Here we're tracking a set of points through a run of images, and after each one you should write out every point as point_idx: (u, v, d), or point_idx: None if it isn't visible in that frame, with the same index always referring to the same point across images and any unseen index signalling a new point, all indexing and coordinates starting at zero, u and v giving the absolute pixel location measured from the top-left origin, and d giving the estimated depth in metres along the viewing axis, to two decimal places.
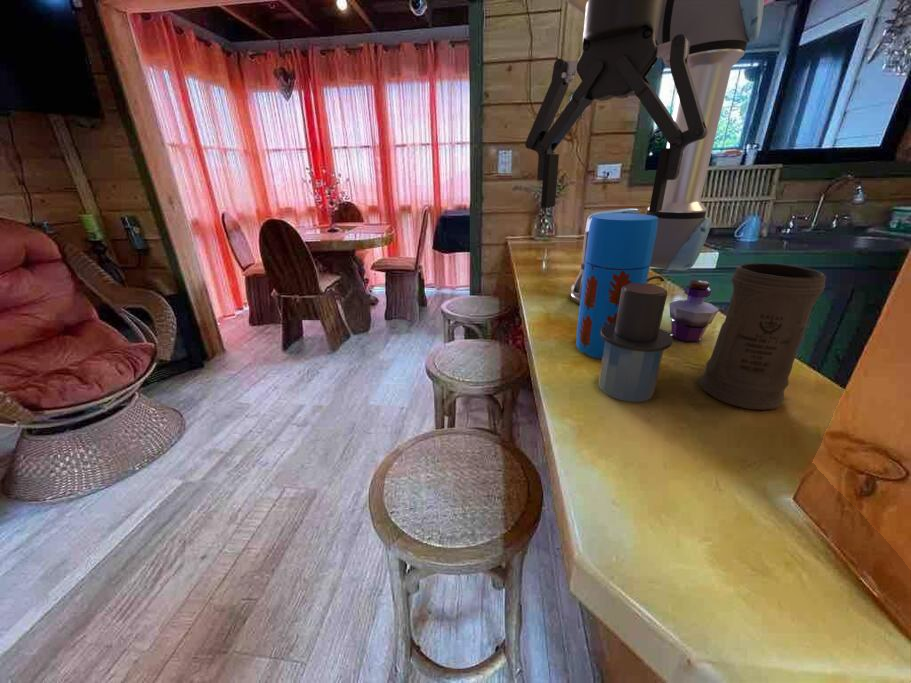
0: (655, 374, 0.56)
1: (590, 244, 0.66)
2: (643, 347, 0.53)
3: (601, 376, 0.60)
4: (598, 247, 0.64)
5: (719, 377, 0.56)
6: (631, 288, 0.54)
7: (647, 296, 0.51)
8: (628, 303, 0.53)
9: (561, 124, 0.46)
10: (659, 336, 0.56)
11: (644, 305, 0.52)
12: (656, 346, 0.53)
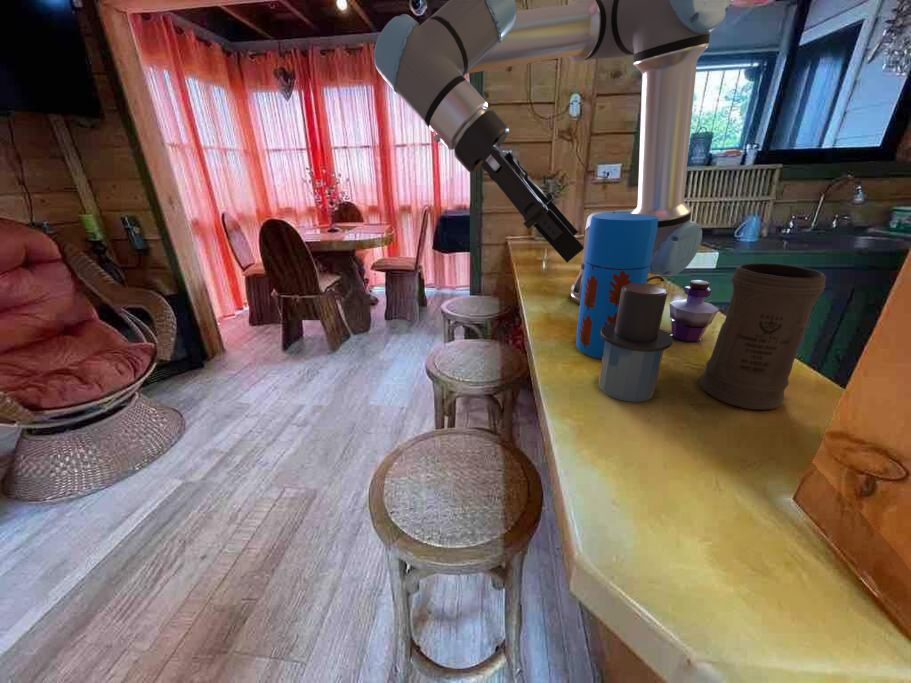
0: (655, 374, 0.56)
1: (590, 244, 0.66)
2: (643, 347, 0.53)
3: (601, 376, 0.60)
4: (598, 247, 0.64)
5: (719, 377, 0.56)
6: (631, 288, 0.54)
7: (647, 296, 0.51)
8: (628, 303, 0.53)
9: None
10: (659, 336, 0.56)
11: (644, 305, 0.52)
12: (656, 346, 0.53)
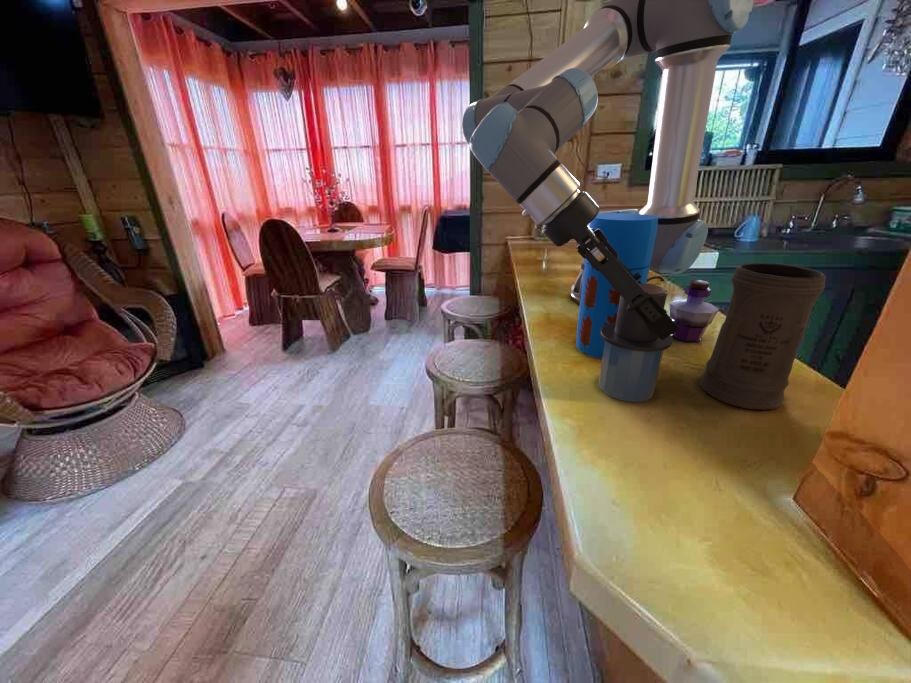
0: (655, 374, 0.56)
1: None
2: (643, 347, 0.53)
3: (601, 376, 0.60)
4: None
5: (719, 377, 0.56)
6: None
7: None
8: None
9: None
10: None
11: None
12: (656, 346, 0.53)
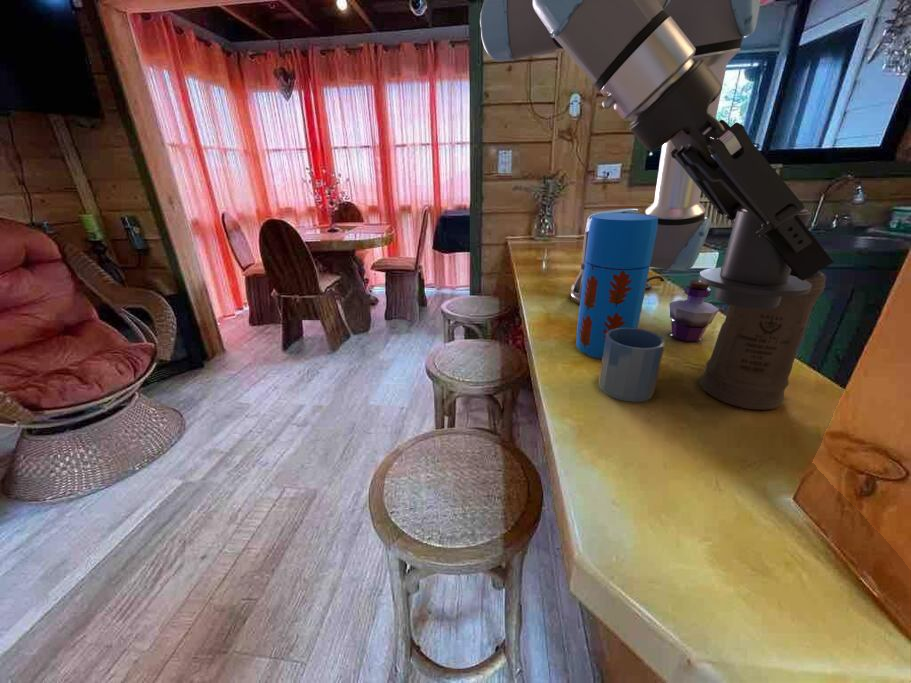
0: (655, 374, 0.56)
1: (590, 244, 0.66)
2: (776, 290, 0.37)
3: (601, 376, 0.60)
4: (598, 247, 0.64)
5: (719, 377, 0.56)
6: None
7: None
8: (752, 229, 0.38)
9: (715, 196, 0.42)
10: (788, 279, 0.40)
11: None
12: (794, 289, 0.37)
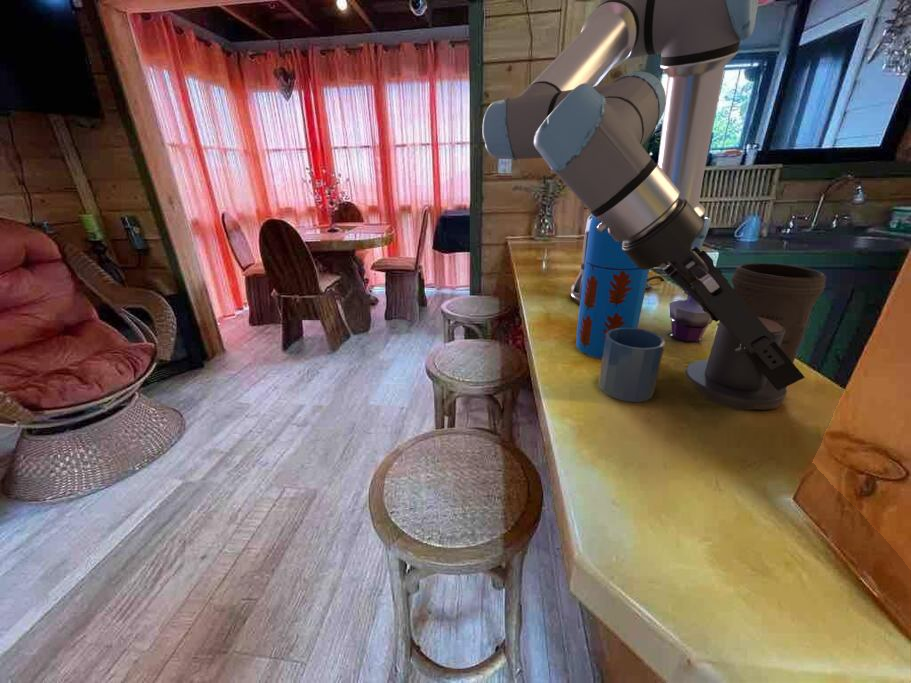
0: (655, 374, 0.56)
1: (590, 244, 0.66)
2: (754, 399, 0.41)
3: (601, 376, 0.60)
4: (598, 247, 0.64)
5: None
6: None
7: None
8: (732, 342, 0.42)
9: (700, 302, 0.46)
10: (766, 382, 0.44)
11: None
12: (770, 398, 0.41)
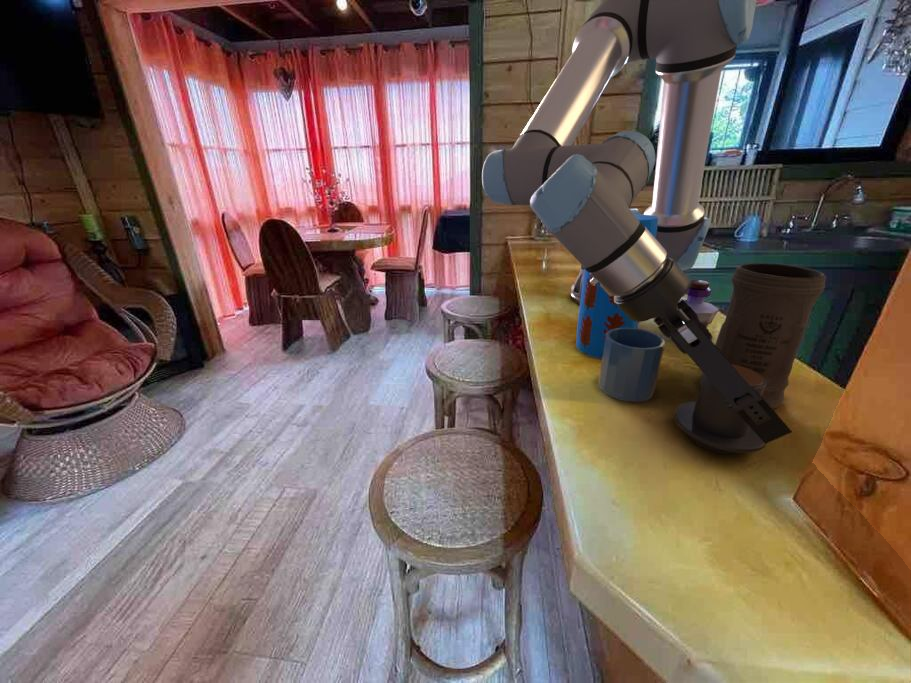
0: (655, 374, 0.56)
1: None
2: (737, 447, 0.44)
3: (601, 376, 0.60)
4: None
5: None
6: None
7: None
8: (717, 393, 0.45)
9: None
10: (749, 427, 0.47)
11: None
12: (752, 446, 0.44)
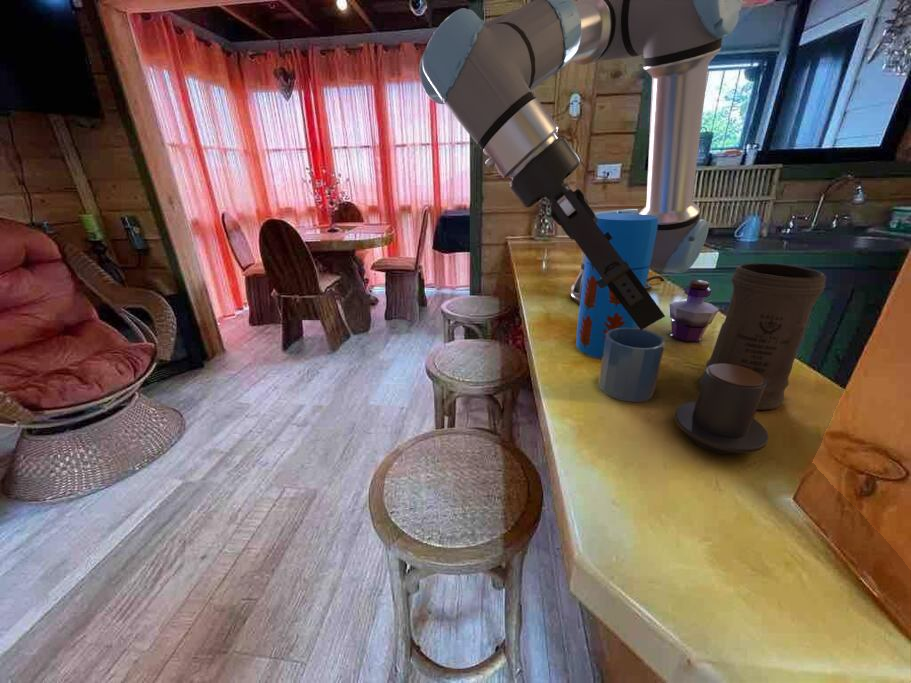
0: (655, 374, 0.56)
1: None
2: (737, 447, 0.44)
3: (601, 376, 0.60)
4: None
5: None
6: (720, 373, 0.45)
7: (744, 388, 0.43)
8: (717, 393, 0.45)
9: None
10: (749, 427, 0.47)
11: (739, 398, 0.43)
12: (752, 446, 0.44)
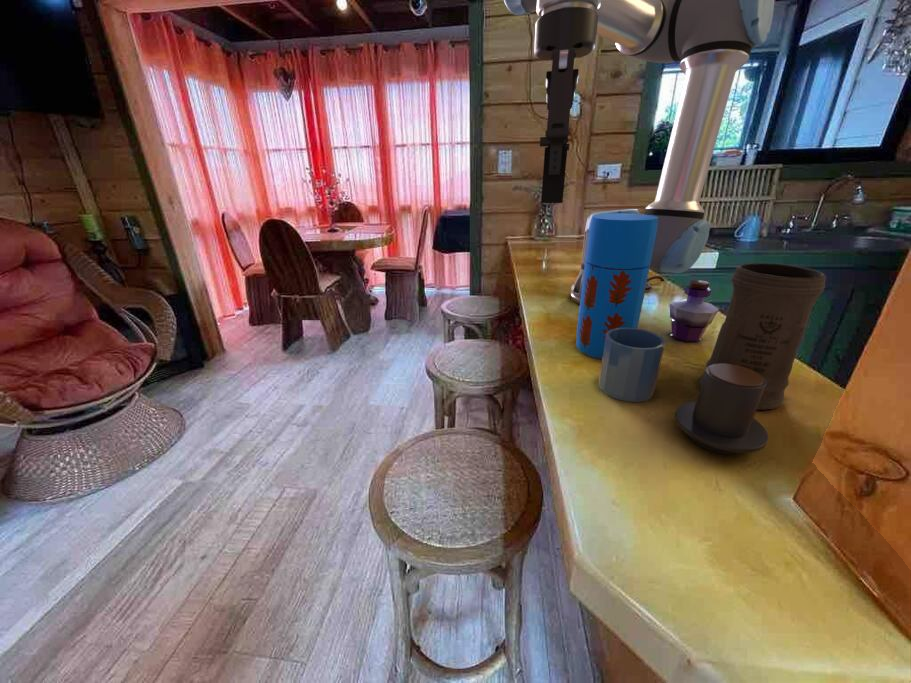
0: (655, 374, 0.56)
1: (590, 244, 0.66)
2: (737, 447, 0.44)
3: (601, 376, 0.60)
4: (598, 247, 0.64)
5: None
6: (720, 373, 0.45)
7: (744, 388, 0.43)
8: (717, 393, 0.45)
9: None
10: (749, 427, 0.47)
11: (739, 398, 0.43)
12: (752, 446, 0.44)
